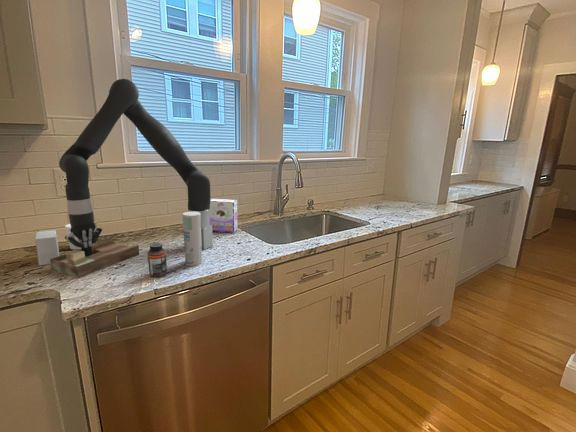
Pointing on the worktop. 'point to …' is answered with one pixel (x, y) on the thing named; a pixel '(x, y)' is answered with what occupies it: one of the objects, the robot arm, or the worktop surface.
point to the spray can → (192, 238)
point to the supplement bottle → (157, 260)
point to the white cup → (68, 228)
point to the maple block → (75, 257)
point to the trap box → (95, 259)
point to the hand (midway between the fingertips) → (87, 255)
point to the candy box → (223, 215)
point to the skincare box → (46, 246)
